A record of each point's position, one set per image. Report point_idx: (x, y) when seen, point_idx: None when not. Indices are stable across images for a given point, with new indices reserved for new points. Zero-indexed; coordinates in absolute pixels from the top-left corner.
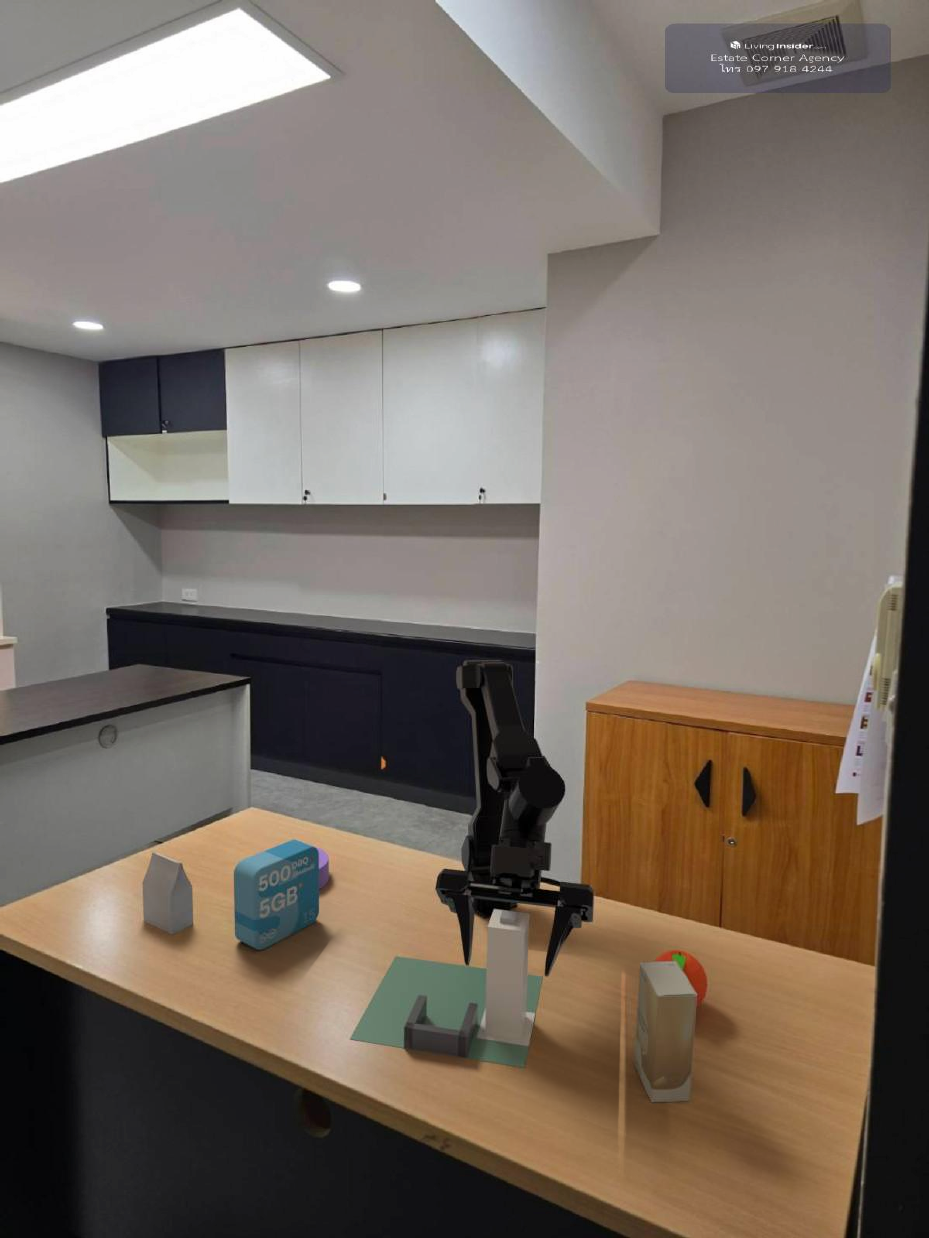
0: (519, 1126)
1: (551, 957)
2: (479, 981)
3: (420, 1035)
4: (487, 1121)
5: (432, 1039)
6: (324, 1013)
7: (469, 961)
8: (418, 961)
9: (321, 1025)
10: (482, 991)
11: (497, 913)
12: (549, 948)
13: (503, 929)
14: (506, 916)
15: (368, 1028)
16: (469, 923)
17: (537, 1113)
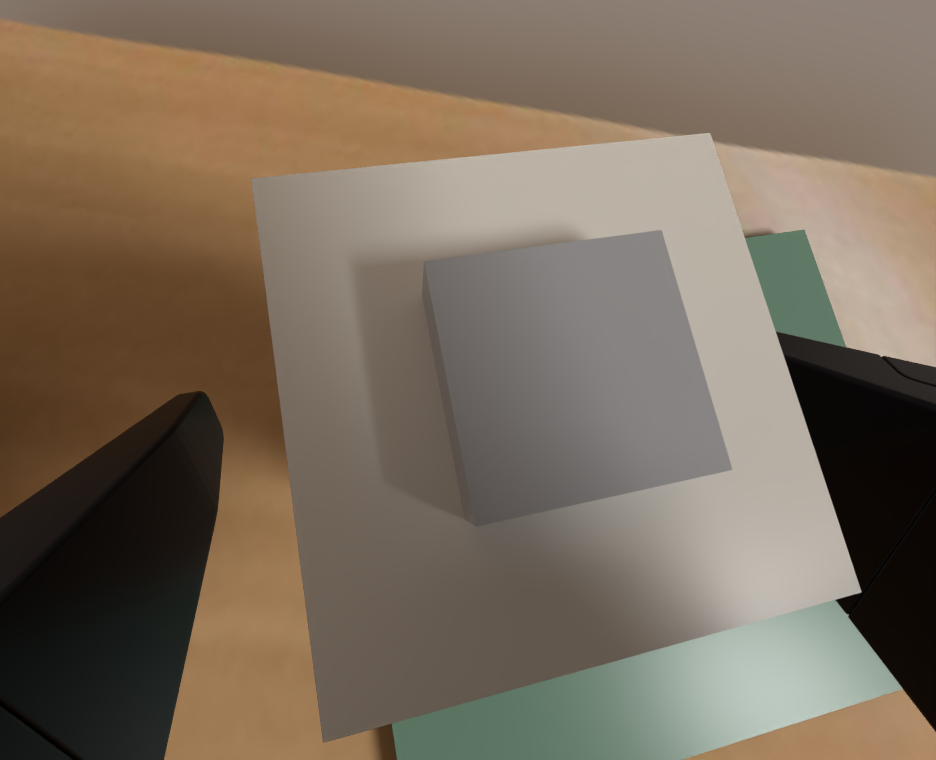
0: (294, 145)
1: (119, 447)
2: (626, 666)
3: None
4: (373, 136)
5: None
6: (921, 331)
7: None
8: (876, 678)
9: (894, 286)
10: None
11: (757, 481)
12: (109, 474)
13: (523, 153)
14: (590, 306)
15: (790, 283)
16: (896, 392)
17: None
